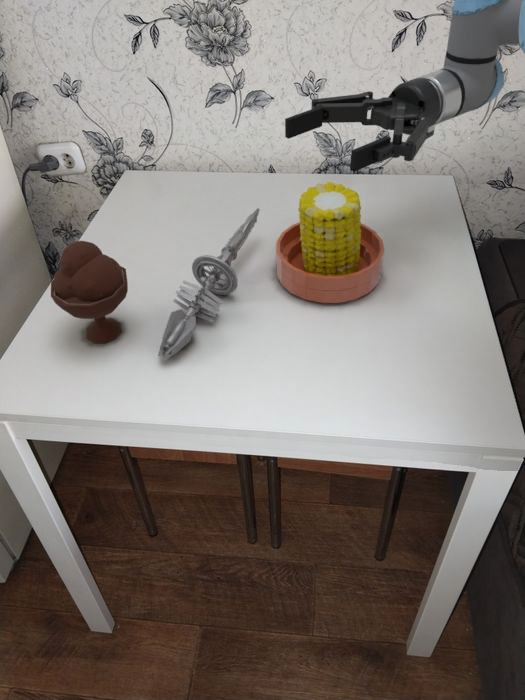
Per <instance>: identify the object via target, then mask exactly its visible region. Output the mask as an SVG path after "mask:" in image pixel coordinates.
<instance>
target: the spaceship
mask: <svg viewBox="0 0 525 700" xmlns="http://www.w3.org/2000/svg"><path fill="white" fill-rule="evenodd" d="M260 210H261V209H260V208H256V209H255V210H254V211H253V212H252V213H251V214H250V215H248V216H247V217H246V219H245V221H244V223H242V224H241V225H240V226H239V227H238V228H237V230H235V232H234V233H233V235H232V236H231V237H230V238H228V241H227V243H226V244H225V246H223V247H222V249H221V251H220V252H221V253H220V255H218V256H213V255H210V254H207V255H206V254H204V255H199V256H198V257H196V258H194V260H193V262H192V264H191V270H192V272H191V273H192V274H193V277H194V279H195V280H196V282H197V283H198V284H199V285H198V284H195V283H193V282H190V281H187V280H183V281H181V282H182V284H184V285H186V286H188V287H186V286H184V285H179V286H178V289H180V290H177V289H176V291H174V294H177V295H176V297H177V298H178V299H177V298H174V299H173V303H175V304H176V305H178V306H179V307H180V308H181V309H180V308H179V309H178V310H174V311H171V312H170V315H169V317H168V320H167V323H166V326H165V329H164V332H163V334H162V337H161V339H162V340H161V343H160V346H159V350H158V354H157V356H158V357H161V356H163V359H164V360H165V361H167V360H168V359H169V358H171V357H173V356H174V355H176V354H177V353H179V351H181V350H182V349H183V348H184V347H185V346H187V345H188V344H189V343H191V341H192V336H193V335H192V334H193V329H195V327H197V317H198V318H200V319H202V320H206V321H208V322H211V323H212V322H213V321H214V320H215V319H214V318H215V317H216V316H218V314H217V312H220V310H221V309H220V307H221V306H220V305H219V304H221V305H222V304H223V302H224V301H223V299H221V298H220V297H218V296H217V295H220V296H226V295H230V294H232V293H234V292H235V291H236V290H237V288H238V285H239V281H238V275H237V274H236V272H235V270H234V269H233V267H232V262H233V261H235V260H236V259H237V258H238V253H239V251H240V250H241V248H242V247H243V245H244V243H245V242H246V241H247V238H249V235H250V234H251V232H252V230H253V228H254V227H255V225H256V223H257V222H258V217H259V214H260ZM205 267H207V268H208V269H206V268H205ZM207 274H208V275H207ZM189 287H191V288H189ZM194 289H195V290H194ZM215 294H216V295H215ZM209 297H210V298H211V299H210V298H209ZM212 299H213V300H215V301H216V302H218V303H219V304H218V303H216V302H215V301H213V300H212ZM179 300H180V301H179ZM181 301H182V302H181ZM183 302H184V303H185V304H184V303H183ZM186 304H187V305H188V306H187V305H186ZM185 311H186V312H185ZM203 313H204V314H203ZM205 314H206V315H205ZM207 315H209V316H207ZM210 316H212V317H214V318H212V317H210Z"/></svg>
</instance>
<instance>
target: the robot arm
mask: <svg viewBox="0 0 525 700" xmlns="http://www.w3.org/2000/svg"><path fill="white" fill-rule="evenodd" d="M446 45H447V46H446V52H445V56H444V61H443V66H442V68H439V69H437V70H434V71H431V72H429V73H426V74H424V75H420V76H418V77H416V78H413V79H412V78H411V79H410V80H407V81H404V82H401V83H399V84H398V85H397V86H396V87H394V88H393V90H392V91H391V93H390V94H389V95H388V97H387V96H386V97H385V96H384V97H381V98H376V99H375V98H374V92H373V91H364V92H362V93H358V94H348V95H339V96H330V97H321V98H320V97H319V98H313V99H311V109H309V110H305V111H303V112H299V113H297V114H294V115H292V116H289V117H286V118H284V133H285V134H284V136H285V138H286V139H292V138H295V137H297V136H299V135H302V134H305V133H308V132H310V131H313V130H315V129H320V128H321V127H323V124H329V123H332V124H336V123H338V124H340V123H342V124H343V123H344V124H345V123H361V125H362V126H377V127H379V128H381V129H383V130H385V131H393V135H392V137H390V136H388V135H385V136H383V137H381V138H378V139H376V140H373V141H371V142H369V143H366V144H364V145H361V146H359V147H357V148H354V149H351V151H350V165H349V166H350V167H349V171H351V172H352V173H355V172H357V171H359V170H362V169H364V168H367V167H369V166H371V165H375V164H376V163H381V162H384V161H386V160H388V159H391V158H393V159H399V158H400V157H403V160H404V161H406V162H412V161H413V160H414V159H415V158H416V156H417V154H418V153H419V151H420V149H421V148H422V147H423V145H424V143H425V142H426V140H427V139H430V138H432V137H433V136H434V135H435V130H436V129H435V128H436V126H437V125H439V124H442V123H443V122H446V121H448V120H451V119H454V118H456V117H459V116H461V115H464V114H466V113H469V112H471V111H476V110H479V109H480V108H483V106H485V105H487V104H488V103H490V102H492V101H493V100H494V99H496V98H497V96H498V95H499V94H500V93H501V91H502V89H503V87H504V81H505V76H504V71H503V70H504V69H503V65H502V64H501V62H500V61H499V60H498V59H497V55H498V50H499V48H500V46H509V45H510V46H511V45H513V46H514V45H519V46H520V49H521V50H522V52H523V54H525V0H454V2H453V5H452V8H451V19H450V25H449V33H448V40H447V44H446ZM369 111H370V117H369V118H368V112H369ZM403 135H407V136H408V138H407V140H406V141H403Z"/></svg>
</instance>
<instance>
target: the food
mask: <svg viewBox="0 0 525 700" xmlns="http://www.w3.org/2000/svg"><path fill="white" fill-rule="evenodd" d="M298 206H299V207H298V212H299V214H298V216H299V217H298V218H299V222H300V223H301V224H300V232H301V238H300V240H301V241H302V243H301V246H302V255H303V257H302V259H303V265H304V267H305V271H306V272H307V273H312V274H317V275H323V276H341V275H346V274H351V273H356V271H357V270H358V269H359V268H358V267H359V260H360V259H361V257H360V244H361V241H360V238H361V229H360V226H361V223H362V222H361V218H362V214H361V210H362V206H361V201H360V195H359V194H358V192H357V191H355V190H354V189H351V188H349V187H345V186H344V185H343V184H342V183H337V184H335V182H332V181H328V182H326V183H325V184H324V183H317V184H316V185H315V186H309V187H308V188H307V189H306V191H303V192H302V193H301V195H300V198H299V203H298Z"/></svg>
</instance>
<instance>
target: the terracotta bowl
mask: <svg viewBox="0 0 525 700" xmlns="http://www.w3.org/2000/svg"><path fill="white" fill-rule="evenodd" d="M300 224H301V223H300V221H298V222H296V223H294V224H291V225H290V226H289V227H287V228H286V229H285V230H284V231H282V232H281V234H280V235H279V237H278V238H277V240H276V243H275V245H276V246H275V247H276V277H277V278H278V281H279V282H280V284H281V286H282V287H283V288H285V289H286V291H288V292H289V293H290V294H291V295H294V296H296V297H299V298H301V299H304V300H305V301H310V302H316V303H322V304H340V303H345V302H350V301H355V300H358V299H360V298H362V297H363V296H366V295H367V294H369V293H371V292H372V291H373V290H374V289H375V287H376V286H378V284H379V283H380V279H381V277H382V273H383V271H382V270H383V263H384V257H385V246H384V241H383V239H382V238H381V236H380V235H379V234H378V233H377V232H376V231H375V230H374V229H373V228H371V227H369V226H368V225H367V224H365V223H362V222H361V226H360V229H361V238H360V241H361V244H360V257H361V259H360V260H359V267H358V268H359V269H358V270H357V271H356V273H351V274H346V275H341V276H323V275H317V274H312V273H307V272H306V271H305V267H304V265H303V259H302V257H303V255H302V246H301V243H302V241H301V240H300V238H301V232H300Z"/></svg>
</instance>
